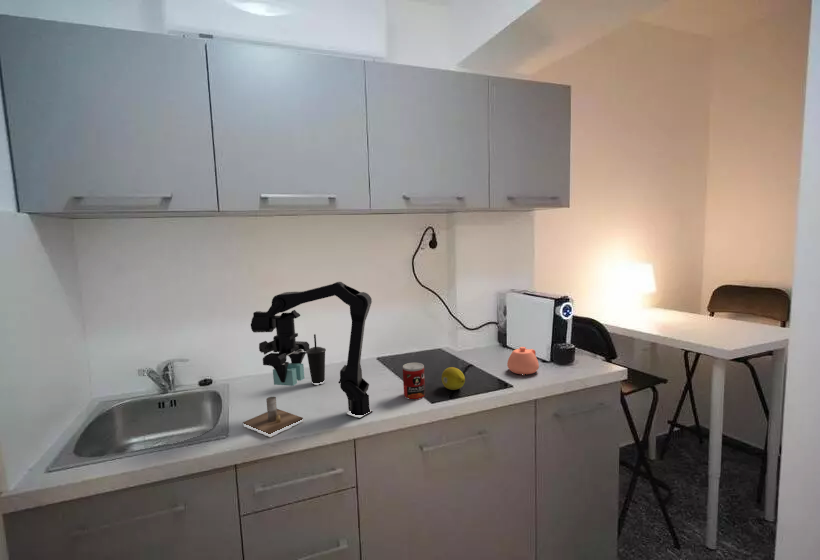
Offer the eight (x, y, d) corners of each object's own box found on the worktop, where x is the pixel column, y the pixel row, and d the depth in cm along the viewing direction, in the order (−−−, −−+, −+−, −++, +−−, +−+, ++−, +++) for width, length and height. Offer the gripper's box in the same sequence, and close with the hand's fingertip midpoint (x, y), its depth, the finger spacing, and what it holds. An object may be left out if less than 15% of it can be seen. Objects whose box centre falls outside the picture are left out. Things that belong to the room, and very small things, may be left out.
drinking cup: (304, 384, 162) (301, 335, 160) (321, 378, 167) (317, 331, 165) (315, 388, 157) (311, 337, 155) (331, 382, 162) (328, 333, 160)
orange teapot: (501, 371, 166) (500, 347, 165) (524, 364, 174) (523, 340, 173) (524, 379, 156) (524, 353, 155) (548, 371, 163) (547, 346, 162)
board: (303, 422, 128) (301, 396, 127) (270, 438, 118) (267, 410, 117) (276, 412, 136) (274, 388, 135) (243, 426, 126) (240, 400, 126)
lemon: (437, 386, 153) (436, 365, 152) (456, 382, 155) (455, 362, 155) (450, 396, 143) (449, 374, 142) (470, 392, 145) (469, 370, 144)
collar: (304, 378, 136) (303, 363, 135) (293, 385, 129) (292, 370, 128) (285, 377, 137) (284, 362, 137) (273, 384, 131) (272, 369, 130)
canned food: (407, 401, 140) (405, 370, 139) (401, 393, 148) (400, 363, 147) (428, 398, 142) (426, 367, 141) (421, 390, 150) (420, 361, 149)
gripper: (280, 325, 143) (283, 368, 144) (245, 338, 125) (249, 387, 126) (308, 325, 140) (311, 369, 141) (277, 339, 122) (281, 389, 123)
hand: (289, 378), depth 133 cm, fingers closed on collar, 7 cm apart
